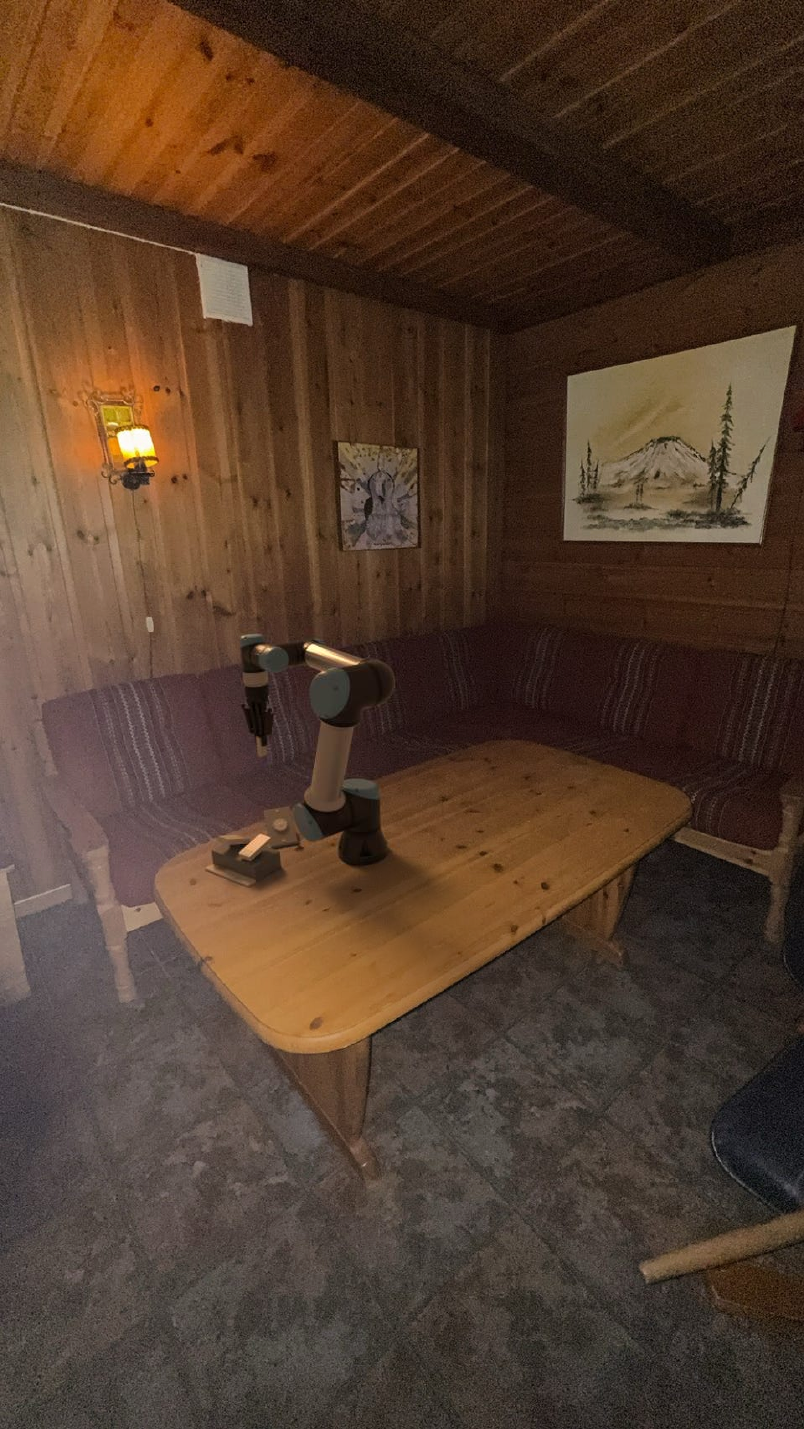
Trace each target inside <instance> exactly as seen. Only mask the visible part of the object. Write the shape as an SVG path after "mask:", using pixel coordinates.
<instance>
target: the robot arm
mask: <svg viewBox="0 0 804 1429" xmlns="http://www.w3.org/2000/svg"><path fill="white" fill-rule="evenodd" d="M239 650H240V659H241V667H242V678H243V679H242V681H243V685H244V686H243V689H244V697H245V698H246V701H245V702H244V703H241V704H240V707H241V708H242V710H243V714H244V717H245V720H246V724H247V728H248V732H249V734H253V735H254V740H255V745H256V748H257V750H256V751H257V756H258V757H260V758H262V757H264V756H266V755H268V748H267V746H268V744H269V743H268V736H270V735H272V734H273V724H274V715H275V712H276V710H277V708H276V707H275V706H272V705H271V704H270V700H269V695H270V688H269V687H270V686H269V683H268V682H269V674H268V672H269V673H276V674H277V673H281V672H283V671H284V670H285V669H290V668H293V667H299V666H307V667H310V668H311V669H312V668H313V669H315V670H317V671H319V672H317V673H316V675H315V676H314V678H313V679H312V681H311V683H310V687H309V699H310V700H311V701H310V706H311V709H312V711H313V712H314V714H315V715H316V717H317V719H318V720H319V721H320V727H319V731H318V732H319V734H318V739H317V745H316V751H315V759H314V766H313V772H312V778H311V783H310V786H308V788H306V790H305V791H304V795H303V799H302V802H297V803H296V804H294V806H293V808H292V814H293V815H292V817H293V819H294V820H293V821H294V822H295V825H296V828H297V830H298V832H299V833H300V835H301V836H302V837H303V838H304V839H305V840H306V841H308V842H311V843H312V842H314V843H315V842H319V841H323V840H325V839H327V838H329V837H332V836H335V835H337V834H339V833H341V835H340V839H339V842H338V846H337V855H338V858H339V860H341V861H342V862H344V863H346V864H350V865H355V866H363V865H364V866H366V865H372V864H375V863H377V862H381V861H382V860H384V859H385V858H386V856H387V854H388V852H389V851H388V850H389V849H388V843H387V842H388V841H387V840H386V839H385V835H384V833H383V830H382V822H381V821H382V820H381V818H382V817H381V794H380V792H381V791H380V787H379V785H378V784H377V783H376V782H375V781H372V780H369V779H364V778H348V779H345V775H346V770H347V764H348V760H349V756H350V755H349V754H350V749H351V743H352V738H353V734H354V728H355V727H356V726H358V725H359V724H360V723H361V722H362V718H363V712H364V710H366V709H367V710H368V709H370V708H375V707H377V706H380V705H383V704H385V702H387V701H388V700H389V699H390V698H391V697H392V695H393V693H394V690H395V687H396V678H395V674H394V672H393V670H392V669H391V667H390V666H389V665H388V664H387V663H386V662H384V661H381V660H379V659H376V658H373V657H364V658H361V657H359V656H355V655H353V654H349V653H347V652H344V651H341V650H338V649H335V648H332V647H330V646H329V647H328V646H327V645H326V643H325V642H324V641H323V639H321V638H308V639H302V640H296V641H287V642H282V643H275V644H266V639H265V636H264V635H263V634H261V633H248V634H243V635H242V636H240V637H239Z"/></svg>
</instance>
